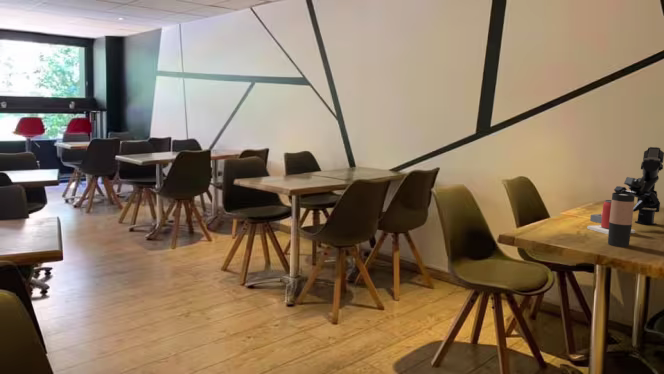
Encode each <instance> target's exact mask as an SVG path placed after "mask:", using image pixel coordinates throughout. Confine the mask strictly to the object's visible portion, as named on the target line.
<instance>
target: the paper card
mask: <svg viewBox="0 0 664 374" xmlns="http://www.w3.org/2000/svg"><path fill="white" fill-rule="evenodd" d="M587 229H588V230H591V231H595V232H598V233H600V234H601V233H602V234H605V235H608V234H609V229H605V228H602V227H601V224H599V225H587ZM635 233H636V230H635V229H632V228H631V234H635Z"/></svg>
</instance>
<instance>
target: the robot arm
mask: <svg viewBox="0 0 664 374" xmlns="http://www.w3.org/2000/svg"><path fill="white" fill-rule="evenodd" d="M647 148H648V149H646V150H645V151H643V157H642V158H643V159H642V161H641V163H640V164H641V165H640V170H642V176H641V177H637V178H635V177H630V176H627V177H626V178H625V180H624V183H623V184H624V185H626V186H628V189H629V190H628V189H627V187H626V186H620V185H618V186H617V185H616V187H615V188H614V189H613V191H614V193H616V192H619V193H630V194H634V195H635V198H637V199H636V200H637V201H636V202H637V203H636V204H635V205H634V208H633V213H635V212H638V215H637V220H635V221H634V223H637V224H641V225H646V226H649V225H657V222H654V221H655V213H659V212H660V209H661V201H660V200H659V198H658V191H657V190H655V189H656V188H655V187H656V183H657V182H658V181H659V179H660V178H659V173H660V171H662V170H663V169H664V164H663V163H664V151H662V150H661V147H657V146H654V147H653V146H649V147H647Z"/></svg>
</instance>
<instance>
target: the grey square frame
mask: <svg viewBox="0 0 664 374" xmlns="http://www.w3.org/2000/svg"><path fill="white" fill-rule="evenodd" d="M589 221H590V222H593V223H599V224H601V221H602V216H601V213H595V214H590V220H589Z"/></svg>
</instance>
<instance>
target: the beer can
mask: <svg viewBox="0 0 664 374" xmlns="http://www.w3.org/2000/svg"><path fill="white" fill-rule="evenodd" d="M611 202H612V199H605V200H604V202H603V205H602V210H603V211H602V210H601V211H602V221H601V223H600V225H601V227H602V228H605V229H609V220H610V211H611Z"/></svg>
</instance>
